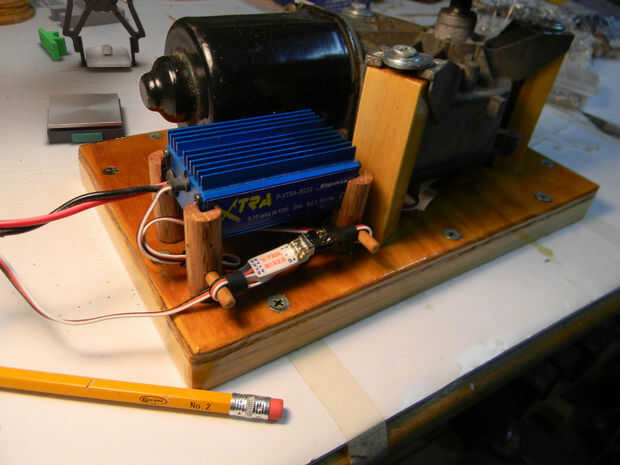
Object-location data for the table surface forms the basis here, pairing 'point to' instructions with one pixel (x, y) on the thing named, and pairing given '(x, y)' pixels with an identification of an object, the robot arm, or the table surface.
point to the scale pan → (84, 110)
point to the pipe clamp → (53, 43)
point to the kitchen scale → (86, 133)
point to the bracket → (78, 7)
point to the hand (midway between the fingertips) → (109, 65)
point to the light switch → (107, 57)
